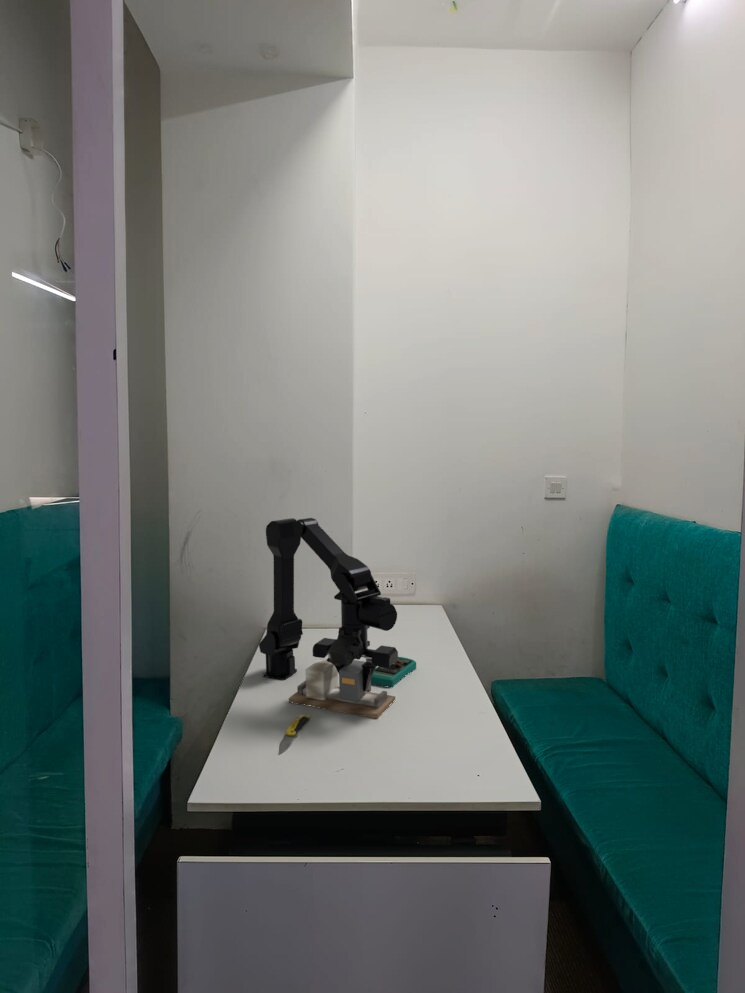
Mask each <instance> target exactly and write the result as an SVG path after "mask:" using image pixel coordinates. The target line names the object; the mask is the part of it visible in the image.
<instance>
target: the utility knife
mask: <svg viewBox="0 0 745 993" xmlns="http://www.w3.org/2000/svg"><path fill="white" fill-rule="evenodd" d="M310 719H311V718H310V715H308V714H304V715H303V714H302V715H299V716H298V717H297V719H294V720H293V721H292V722H291V723H290V724H289V726H288V728H287V730H286V731H285V732H284V736H283V737H282V739H281V741H280V743H279V749H278V755H281V754H283V753H284V752H285V751H287V750H288V749H289V748H290V746H291V744H292V743H293V741H294V739H295V738H296V739H297V737H298V734H297V733H298V731H299V730H302V728H303V726H305V725H306V723H307V722H308V721H310Z"/></svg>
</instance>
